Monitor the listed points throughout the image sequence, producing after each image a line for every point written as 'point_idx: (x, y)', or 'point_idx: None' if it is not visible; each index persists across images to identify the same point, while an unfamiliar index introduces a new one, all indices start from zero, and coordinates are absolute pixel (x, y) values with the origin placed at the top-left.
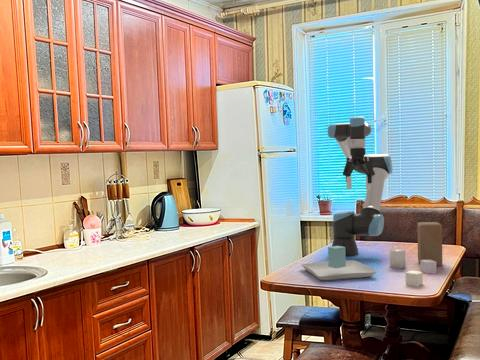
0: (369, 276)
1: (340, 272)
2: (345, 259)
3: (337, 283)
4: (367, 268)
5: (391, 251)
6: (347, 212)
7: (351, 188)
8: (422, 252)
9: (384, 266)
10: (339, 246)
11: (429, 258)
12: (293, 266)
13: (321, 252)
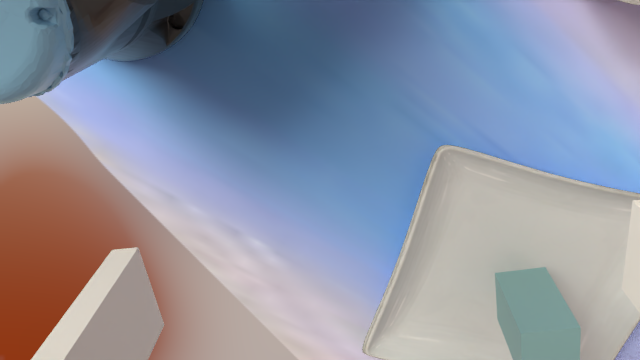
0: None
1: (514, 262)
2: (556, 287)
3: (627, 349)
4: (616, 195)
5: (637, 4)
6: (28, 18)
7: (137, 254)
8: None
9: (545, 7)
10: (547, 339)
11: None
12: (296, 334)
13: None
